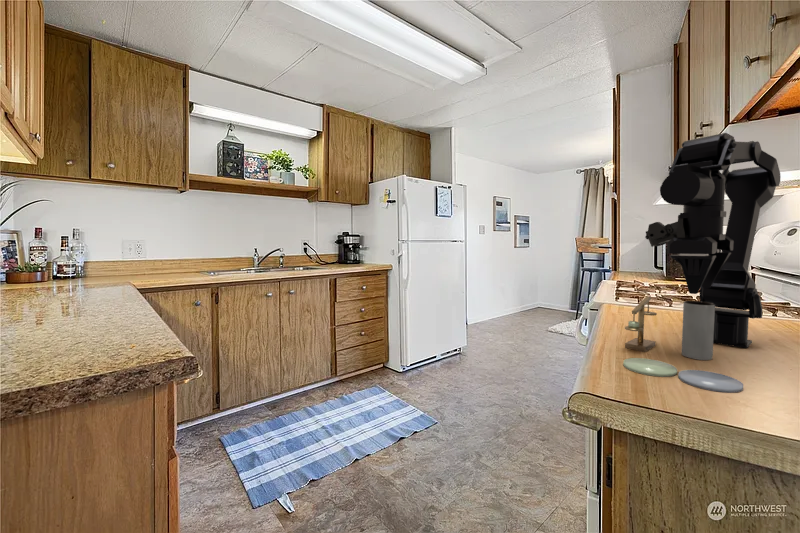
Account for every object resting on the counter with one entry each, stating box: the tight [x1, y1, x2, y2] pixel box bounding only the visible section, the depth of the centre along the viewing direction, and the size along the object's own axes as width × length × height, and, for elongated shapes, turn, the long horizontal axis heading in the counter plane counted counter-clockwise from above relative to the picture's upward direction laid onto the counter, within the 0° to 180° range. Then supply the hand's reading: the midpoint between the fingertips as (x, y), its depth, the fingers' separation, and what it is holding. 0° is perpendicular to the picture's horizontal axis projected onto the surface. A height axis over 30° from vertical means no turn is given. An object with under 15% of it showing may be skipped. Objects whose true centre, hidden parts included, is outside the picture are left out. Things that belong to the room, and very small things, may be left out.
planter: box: [681, 300, 715, 361], centre depth 67 cm, size 4×4×10 cm
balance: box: [624, 295, 658, 353], centre depth 74 cm, size 11×4×10 cm, turn 128°
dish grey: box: [677, 369, 744, 394], centre depth 56 cm, size 8×8×1 cm
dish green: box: [623, 357, 678, 378], centre depth 62 cm, size 8×8×1 cm
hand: (699, 290), depth 67 cm, fingers open, 9 cm apart
